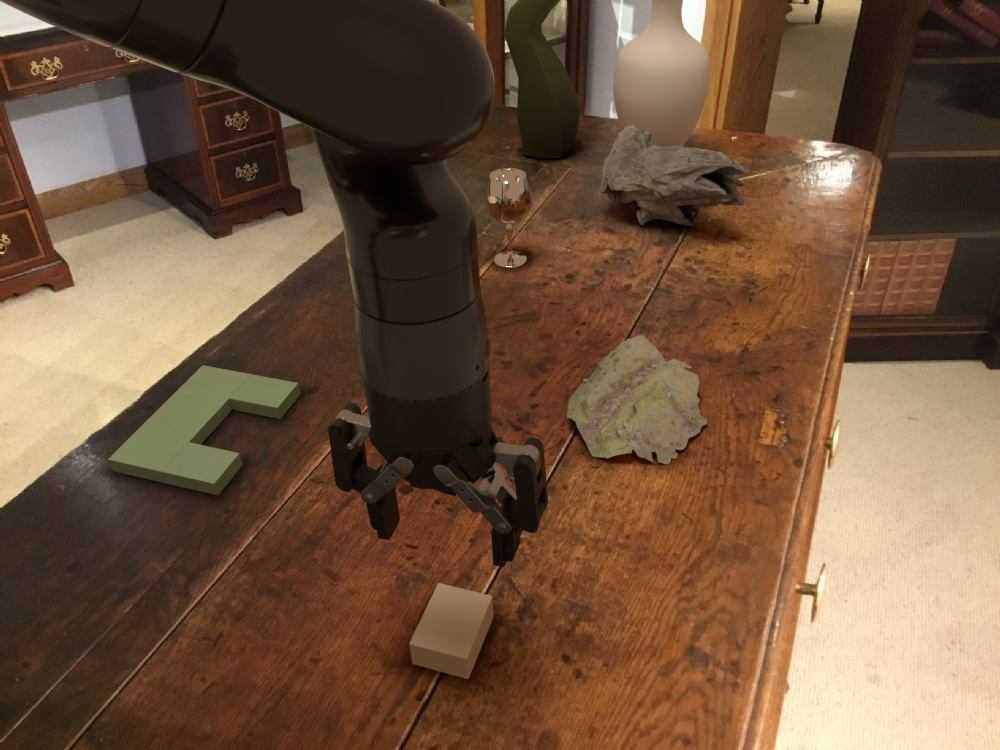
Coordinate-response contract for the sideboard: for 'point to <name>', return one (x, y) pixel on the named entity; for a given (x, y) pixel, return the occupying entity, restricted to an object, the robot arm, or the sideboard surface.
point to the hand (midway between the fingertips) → (445, 544)
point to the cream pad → (452, 630)
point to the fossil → (668, 178)
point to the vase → (662, 78)
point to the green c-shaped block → (200, 429)
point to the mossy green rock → (637, 404)
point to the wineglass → (508, 208)
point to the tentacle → (541, 84)
